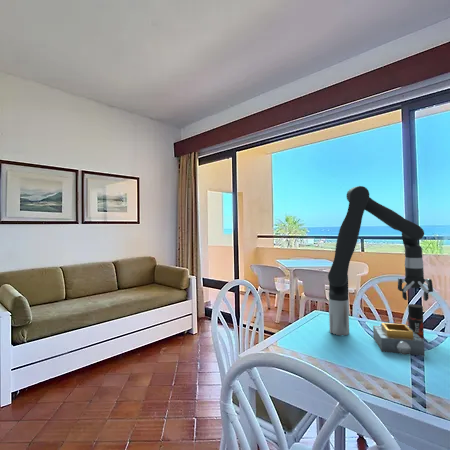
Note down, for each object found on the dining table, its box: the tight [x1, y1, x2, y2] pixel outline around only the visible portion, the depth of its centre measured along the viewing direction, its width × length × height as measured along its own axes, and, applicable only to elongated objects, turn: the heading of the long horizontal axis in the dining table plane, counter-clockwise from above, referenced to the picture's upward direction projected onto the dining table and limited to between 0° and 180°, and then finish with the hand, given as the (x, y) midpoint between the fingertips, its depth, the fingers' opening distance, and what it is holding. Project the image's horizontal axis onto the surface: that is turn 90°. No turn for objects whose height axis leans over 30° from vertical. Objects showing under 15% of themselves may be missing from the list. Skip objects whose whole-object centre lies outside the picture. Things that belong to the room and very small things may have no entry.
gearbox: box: [372, 322, 425, 357], centre depth 128 cm, size 16×18×8 cm
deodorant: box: [407, 303, 425, 340], centre depth 139 cm, size 6×6×15 cm
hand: (415, 300), depth 139 cm, fingers open, 8 cm apart
